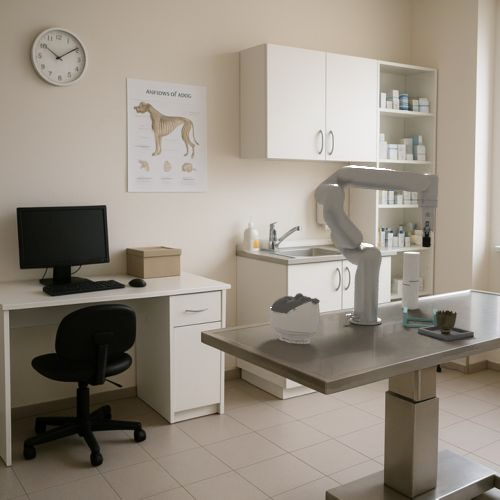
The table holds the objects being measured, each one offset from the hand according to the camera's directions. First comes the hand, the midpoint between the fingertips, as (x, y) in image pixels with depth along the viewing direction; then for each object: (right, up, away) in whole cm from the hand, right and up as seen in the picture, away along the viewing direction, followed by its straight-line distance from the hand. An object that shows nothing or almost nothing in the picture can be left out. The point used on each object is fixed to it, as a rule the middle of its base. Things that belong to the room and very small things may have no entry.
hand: (426, 245), depth 251 cm
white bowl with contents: (-56, -34, -33) cm, 74 cm away
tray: (0, -33, -23) cm, 41 cm away
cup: (0, -33, -23) cm, 40 cm away
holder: (-5, -31, -7) cm, 32 cm away
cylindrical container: (0, -28, +24) cm, 37 cm away
